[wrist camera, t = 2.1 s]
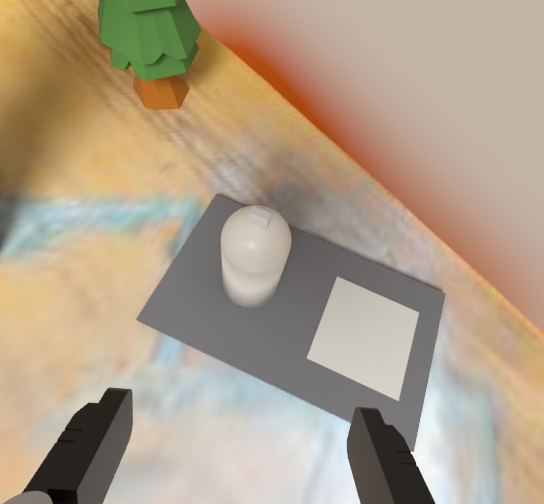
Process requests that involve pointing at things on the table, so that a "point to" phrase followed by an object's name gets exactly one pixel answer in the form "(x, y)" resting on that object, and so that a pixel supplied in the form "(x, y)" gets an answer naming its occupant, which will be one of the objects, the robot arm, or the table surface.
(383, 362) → the mat
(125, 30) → the decorative tree
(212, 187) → the table surface
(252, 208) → the white rounded cylinder
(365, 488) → the robot arm
